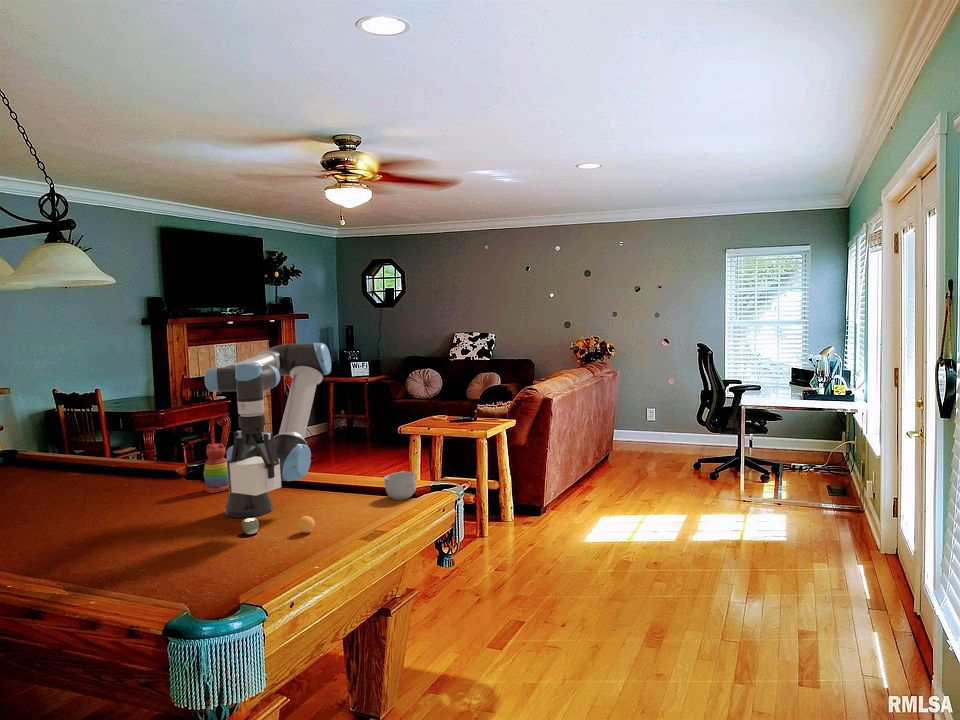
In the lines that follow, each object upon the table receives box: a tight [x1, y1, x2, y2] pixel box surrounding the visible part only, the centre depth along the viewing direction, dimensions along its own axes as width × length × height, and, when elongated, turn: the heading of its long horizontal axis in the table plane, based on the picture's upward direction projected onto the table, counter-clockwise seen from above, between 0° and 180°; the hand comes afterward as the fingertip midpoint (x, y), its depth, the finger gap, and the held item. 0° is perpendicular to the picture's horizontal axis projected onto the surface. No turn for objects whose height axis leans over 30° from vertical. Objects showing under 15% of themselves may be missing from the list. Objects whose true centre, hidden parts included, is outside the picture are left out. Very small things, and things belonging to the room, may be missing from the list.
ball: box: [297, 515, 316, 534], centre depth 220 cm, size 5×5×5 cm
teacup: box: [383, 470, 417, 501], centre depth 257 cm, size 14×11×8 cm
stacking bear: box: [203, 443, 229, 491], centre depth 277 cm, size 11×10×18 cm
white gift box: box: [230, 456, 282, 496], centre depth 222 cm, size 10×10×9 cm
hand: (256, 487), depth 222 cm, fingers closed on white gift box, 10 cm apart
